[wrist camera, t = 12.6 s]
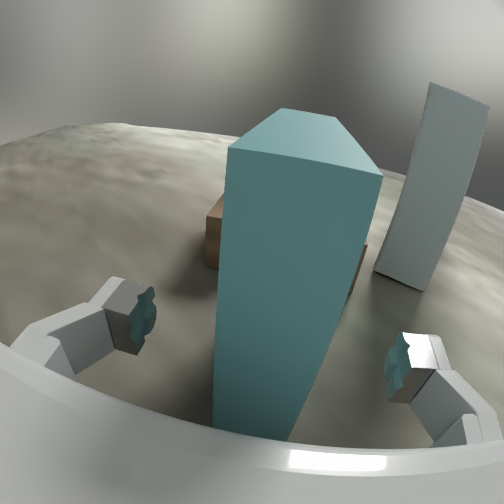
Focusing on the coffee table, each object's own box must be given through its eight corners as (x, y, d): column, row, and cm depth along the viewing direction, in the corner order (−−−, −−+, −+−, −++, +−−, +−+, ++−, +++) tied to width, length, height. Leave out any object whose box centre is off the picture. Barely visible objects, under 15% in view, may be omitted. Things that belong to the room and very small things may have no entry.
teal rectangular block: (270, 470, 11) (383, 175, 5) (211, 459, 11) (227, 146, 5) (292, 318, 19) (335, 117, 13) (252, 311, 20) (281, 108, 13)
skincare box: (429, 297, 23) (492, 104, 14) (370, 273, 25) (421, 78, 17) (435, 219, 39) (464, 111, 30) (400, 206, 41) (426, 98, 33)
